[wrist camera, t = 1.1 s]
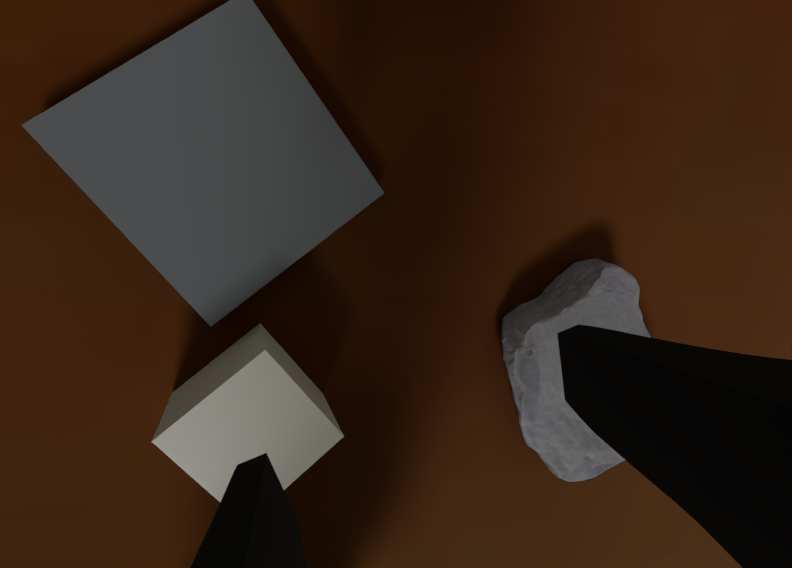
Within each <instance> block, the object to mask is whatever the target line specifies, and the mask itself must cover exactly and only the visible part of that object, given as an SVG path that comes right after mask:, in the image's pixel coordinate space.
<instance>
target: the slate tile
mask: <svg viewBox="0 0 792 568" xmlns="http://www.w3.org/2000/svg"><path fill="white" fill-rule="evenodd" d="M22 126H23V127H24V128H25V129H26V131H27V132H28V133H29V134H30V135H31V136H32V137H33V138H34V139H35V140H36V141H37V142H38V143H39V144H40V145H41V147H42V148H43V149H44V150H45V151H46V152H47V153H48V154H49V155H50V156H51V157H52V158H53V159H54V160H55V161H56V162H57V164H58V165H59V166H60V167H61V168H62V169H63V170H64V171H65V172H66V173H67V174H68V175H69V176H70V177H71V178H72V180H73V181H74V182H75V183H76V184H77V185H78V186H79V187H80V188H81V189H82V190H83V191H84V192H85V193H86V194H87V196H88V197H89V198H90V199H91V200H92V201H93V202H94V203H95V204H96V205H97V206H98V207H99V208H100V209H101V210H102V211H103V213H104V214H105V215H106V216H107V217H108V218H109V219H110V220H111V221H112V222H113V223H114V224H115V225H116V226H117V227H118V229H119V230H120V231H121V232H122V233H123V234H124V235H125V236H126V237H127V238H128V239H129V240H130V241H131V242H132V243H133V245H134V246H135V247H136V248H137V249H138V250H139V251H140V252H141V253H142V254H143V255H144V256H145V257H146V258H147V259H148V260H149V262H150V263H151V264H152V265H153V266H154V267H155V268H156V269H157V270H158V271H159V272H160V273H161V274H162V275H163V276H164V278H165V279H166V280H167V281H168V282H169V283H170V284H171V285H172V286H173V287H174V288H175V289H176V290H177V291H178V292H179V294H180V295H181V296H182V297H183V298H184V299H185V300H186V301H187V302H188V303H189V304H190V305H191V306H192V307H193V308H194V309H195V311H196V312H197V313H198V314H199V315H200V316H201V317H202V318H203V319H204V320H205V321H206V322H207V323H208V324H209V325H210V327H211V326H213V325H214V324H215V323H217V322H218V321H219V320H221V319H222V318H223V317H224V316H226V315H227V314H228V313H230V312H231V311H232V310H234V309H235V308H236V307H237V306H239V305H240V304H241V303H243V302H244V301H245V300H246V299H248V298H249V297H250V296H252V295H253V294H254V293H256V292H257V291H258V290H259V289H261V288H262V287H263V286H265V285H266V284H267V283H269V282H270V281H271V280H272V279H274V278H275V277H276V276H278V275H279V274H280V273H281V272H283V271H284V270H285V269H287V268H288V267H289V266H291V265H292V264H293V263H294V262H296V261H297V260H298V259H300V258H301V257H302V256H304V255H305V254H306V253H307V252H309V251H310V250H311V249H313V248H314V247H315V246H316V245H318V244H319V243H320V242H322V241H323V240H324V239H326V238H327V237H328V236H329V235H331V234H332V233H333V232H335V231H336V230H337V229H339V228H340V227H341V226H342V225H344V224H345V223H346V222H348V221H349V220H350V219H351V218H353V217H354V216H355V215H357V214H358V213H359V212H361V211H362V210H363V209H364V208H366V207H367V206H368V205H370V204H371V203H372V202H374V201H375V200H376V199H377V198H379V197H380V196H381V195H383V194H384V192H383V190H382V189H381V187H380V186H379V184H378V183H377V181H376V180H375V178H374V177H373V176H372V174H371V173H370V171H369V170H368V168H367V167H366V165H365V164H364V162H363V161H362V159H361V158H360V157H359V155H358V154H357V152H356V151H355V149H354V148H353V146H352V145H351V143H350V142H349V140H348V139H347V138H346V136H345V135H344V133H343V132H342V130H341V129H340V127H339V126H338V124H337V123H336V121H335V120H334V119H333V117H332V116H331V114H330V113H329V111H328V110H327V108H326V107H325V105H324V104H323V102H322V101H321V100H320V98H319V97H318V95H317V94H316V92H315V91H314V89H313V88H312V86H311V85H310V83H309V82H308V81H307V79H306V78H305V76H304V75H303V73H302V72H301V70H300V69H299V67H298V66H297V64H296V63H295V62H294V60H293V59H292V57H291V56H290V54H289V53H288V51H287V50H286V48H285V47H284V45H283V44H282V43H281V41H280V40H279V38H278V37H277V35H276V34H275V32H274V31H273V29H272V28H271V26H270V25H269V24H268V22H267V21H266V19H265V18H264V16H263V15H262V13H261V12H260V10H259V9H258V7H257V6H256V5H255V3H254V2H253V0H230V1H228V2H226V3H225V4H223V5H221V6H220V7H218V8H216V9H215V10H213V11H211V12H210V13H208V14H206V15H205V16H203V17H201V18H200V19H198V20H196V21H195V22H193V23H191V24H190V25H188V26H186V27H185V28H183V29H181V30H180V31H178V32H176V33H175V34H173V35H171V36H170V37H168V38H166V39H165V40H163V41H161V42H160V43H158V44H156V45H155V46H153V47H151V48H150V49H148V50H146V51H144V52H143V53H141V54H139V55H138V56H136V57H134V58H133V59H131V60H129V61H128V62H126V63H124V64H123V65H121V66H119V67H118V68H116V69H114V70H113V71H111V72H109V73H108V74H106V75H104V76H103V77H101V78H99V79H98V80H96V81H94V82H93V83H91V84H89V85H88V86H86V87H84V88H83V89H81V90H79V91H78V92H76V93H74V94H73V95H71V96H69V97H68V98H66V99H64V100H63V101H61V102H59V103H58V104H56V105H54V106H53V107H51V108H49V109H48V110H46V111H44V112H43V113H41V114H39V115H38V116H36V117H34V118H33V119H31V120H29V121H28V122H26V123H24V124H23V125H22Z"/></svg>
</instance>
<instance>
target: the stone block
mask: <svg viewBox="0 0 792 568" xmlns="http://www.w3.org/2000/svg"><path fill="white" fill-rule="evenodd" d="M639 293H640V290H639V286H638V284H637V282H636V280H635V278H634V277H633V276H632V275H631V274H630V273H628V272H627V271H626V270H624V269H623V268H622V267H620V266H617V265H615V264H611V263H608V262H604V261H602V260H601V259H598V258H595V259H588V260H583V261H579V262H575V263H573V264H572V265H571V266H569V267H568V268H567V269H565V270H564V271H563V272H562V274H560V275H558V276H557V277H556V278H555V279H554V281H553V282H552V283H550V284H549V285H548V286H547V287H546V289H545V290H544V291H543V293H542V294H541V295H539V296H538V297H537V298H535V299H533V300H531V301H528V302H526V303H523V304H521V305H519V306H518V307H516V308H515V309H514V310H512V311H511V312H509V313H508V314H507V315H505V316H504V317H503V320H502V347H503V360H504V361H505V363H506V367H507V372H508V377H509V379H510V382H511V386H512V395H513V399H514V401H515V403H516V407H517V413H518V418H519V423H520V426H521V431H522V435H523V438H524V440H525V443H526V444H527V445H528V446H529V447H531V448H532V449H533V450H535V451H536V452H537V453H538V454H539V456H540V458H541V459H542V460H543V461H544V463H545V464H546V465H547V466H548V468H549V470H550V471H551V472H552V473H553V474H554V475H556V476H557V477H558V478H561V479H563V480H565V481H568V482H576V481H583V480H587V479H590V478H594V477H596V476H598V475H599V474H601V473H602V472H604V471H605V470H607V469H609V468H611V467H613V466H615V465H616V464H618V463H620V462H622V461H624V460H625V459H624V458H623V457H622V456H620V455H619V454H618V453H617V452H616V451H615V450H613V449H612V448H611V447H610V446H609V445H608V444H606V443H605V442H604V441H603V440H602V439H601V438H600V437H599V436H597V435H596V434H595V433H594V432H593V431H592V430H591V429H590V428H589V427H588V426H587V425H586V423H585V422H584V421H583V420H582V419H581V418H580V417H579V416H578V415H577V414H576V412H575V411H574V410H573V409H572V408H571V407H570V406H569V404H568V403H567V402H566V401H565V396H564V387H563V379H562V370H561V361H560V352H559V344H558V335H557V333H559V332H561V331H564V330H566V329H568V328H571V327H573V326H576V325H578V324H579V325H587V326H594V327H599V328H605V329H610V330H615V331H620V332H625V333H630V334H635V335H640V336H645V337H650V338H651V336H650V334H649V333H648V331H647V329H646V327H645V325H644V322H643V315H642V312H641V310H640V308H639V306H638V300H639Z"/></svg>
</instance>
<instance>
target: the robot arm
mask: <svg viewBox="0 0 792 568" xmlns="http://www.w3.org/2000/svg"><path fill="white" fill-rule="evenodd" d="M557 335H558V344H559V352H560V361H561V370H562V379H563V387H564V396H565V401H566V402H567V403H568V404H569V406H570V407H571V408H572V409H573V410H574V411H575V412H576V414H577V415H578V416H579V417H580V418H581V419H582V420H583V421H584V422H585V423H586V425H587V426H588V427H589V428H590V429H591V430H592V431H593V432H594V433H595V434H596V435H597V436H599V437H600V438H601V439H602V440H603V441H604V442H605V443H606V444H608V445H609V446H610V447H611V448H612V449H613V450H615V451H616V452H617V453H618V454H619V455H620V456H622V457H623V458H624V459H625V460H626V461H627V462H629V463H630V464H631V465H632V466H633V467H634V468H636V469H637V470H638V471H639V472H640V473H642V474H643V475H644V476H645V477H646V478H647V479H649V480H650V481H651V482H652V483H653V484H655V485H656V486H657V487H658V488H659V489H660V490H662V491H663V492H664V493H665V494H666V495H668V496H669V497H670V498H671V499H672V500H673V501H675V502H676V503H677V504H678V505H679V506H680V507H681V508H683V509H684V510H685V511H686V512H687V513H688V514H689V515H690V516H691V517H692V518H694V519H695V520H696V521H697V522H698V523H699V524H700V525H701V526H702V527H703V528H704V529H705V530H706V531H707V532H708V533H709V534H710V535H711V536H712V537H713V538H714V539H715V540H716V541H717V542H718V543H719V544H720V545H721V546H722V547H723V548H724V549H725V550H726V551H727V552H728V553H729V554H730V555H731V556H732V557H733V558H734V559H735V560H736V561H737V562H738V563H739V564H740V565H741V566H742V567H743V568H792V360H787V359H778V358H768V357H760V356H753V355H746V354H739V353H733V352H726V351H720V350H714V349H708V348H702V347H696V346H691V345H685V344H680V343H675V342H670V341H665V340H660V339H655V338H650V337H645V336H640V335H635V334H630V333H625V332H620V331H615V330H610V329H605V328H599V327H594V326H587V325H579V324H578V325H576V326H573V327H571V328H568V329H566V330H564V331H561V332H559V333H557ZM190 568H306V563H305V557H304V551H303V545H302V540H301V535H300V529H299V524H298V520H297V518H296V516H295V514H294V511H293V509H292V507H291V505H290V503H289V501H288V498H287V496H286V494H285V492H284V490H283V488H282V485H281V483H280V481H279V479H278V477H277V475H276V472H275V470H274V468H273V466H272V464H271V462H270V459H269V457H268V455H267V453H265V454H262V455H260V456H257V457H255V458H252V459H250V460H248V461H245V462H243V463H240V464H238V465H237V467H236V469H235V470H234V472H233V475H232V477H231V479H230V482H229V484H228V486H227V488H226V491H225V493H224V495H223V498H222V500H221V502H220V505H219V507H218V509H217V511H216V514H215V516H214V518H213V520H212V523H211V525H210V527H209V529H208V531H207V533H206V536H205V538H204V540H203V542H202V544H201V546H200V548H199V550H198V552H197V555H196V557H195V559H194V561H193V563H192V565H191V567H190Z"/></svg>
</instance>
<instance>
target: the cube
mask: <svg viewBox="0 0 792 568" xmlns="http://www.w3.org/2000/svg"><path fill="white" fill-rule="evenodd" d="M343 437H344V435H343V433H342V431H341V429H340V427H339V425H338V423H337V421H336V419H335V417H334V415H333V413H332V411H331V409H330V407H329V405H328V403H327V401H326V399H325V397H324V395H323V393H322V392H321V391H320V390H319V389H318V388H317V387H316V385H315V384H314V383H313V382H312V381H311V380H310V379H309V378H308V376H307V375H306V374H305V373H304V372H303V371H302V370H301V369H300V367H299V366H298V365H297V364H296V363H295V362H294V361H293V360H292V358H291V357H290V356H289V355H288V354H287V353H286V352H285V351H284V349H283V348H282V347H281V346H280V345H279V344H278V343H277V342H276V340H275V339H274V338H273V337H272V336H271V335H270V334H269V333H268V331H267V330H266V329H265V328H264V327H263V326H262V325H261V324H260V323H259V324H258V325H257V326H256V327H254V328H253V329H252V330H251V331H249V332H248V333H247V334H246V335H244V336H243V337H242V338H240V339H239V340H238V341H237V342H235V343H234V344H233V345H232V346H230V347H229V348H228V349H227V350H225V351H224V352H223V353H222V354H220V355H219V356H218V357H217V358H215V359H214V360H213V361H211V362H210V363H209V364H208V365H206V366H205V367H204V368H203V369H201V370H200V371H199V372H198V373H196V374H195V375H194V376H193V377H191V378H190V379H189V380H187V381H186V382H185V383H184V384H182V385H181V386H180V387H179V388H177V389H176V390H175V391H174V392H172V395H171V397H170V399H169V402H168V404H167V407H166V409H165V411H164V414H163V416H162V418H161V421H160V423H159V425H158V428H157V430H156V432H155V435H154V437H153V440H152V442H153V443H154V444H155V445H156V446H157V447H158V448H159V449H160V450H162V451H163V452H164V453H165V454H166V455H167V456H168V457H169V458H171V459H172V460H173V461H174V462H175V463H176V464H177V465H178V466H180V467H181V468H182V469H183V470H184V471H185V472H186V473H187V474H189V475H190V476H191V477H192V478H193V479H194V480H195V481H196V482H198V483H199V484H200V485H201V486H202V487H203V488H204V489H205V490H207V491H208V492H209V493H210V494H211V495H212V496H213V497H214V498H216V499H217V500H218V501H219V502H221V500H222V498H223V495H224V493H225V491H226V488H227V486H228V484H229V482H230V479H231V477H232V475H233V472H234V470H235V469H236V467H237V465H238V464H240V463H243V462H245V461H248V460H250V459H252V458H255V457H257V456H260V455H262V454H265V453H267V455H268V457H269V459H270V462H271V464H272V466H273V468H274V470H275V472H276V475H277V477H278V479H279V481H280V483H281V485H282V488H283V490H285V489H286V488H287V487H288V486H289V485H290V484H292V483H293V482H294V481H295V480H296V479H297V478H298V477H299V476H300V475H302V474H303V473H304V472H305V471H306V470H307V469H308V468H309V467H310V466H312V465H313V464H314V463H315V462H316V461H317V460H318V459H319V458H321V457H322V456H323V455H324V454H325V453H326V452H327V451H328V450H329V449H331V448H332V447H333V446H334V445H335V444H336V443H337V442H338V441H339V440H341V439H342V438H343Z"/></svg>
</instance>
